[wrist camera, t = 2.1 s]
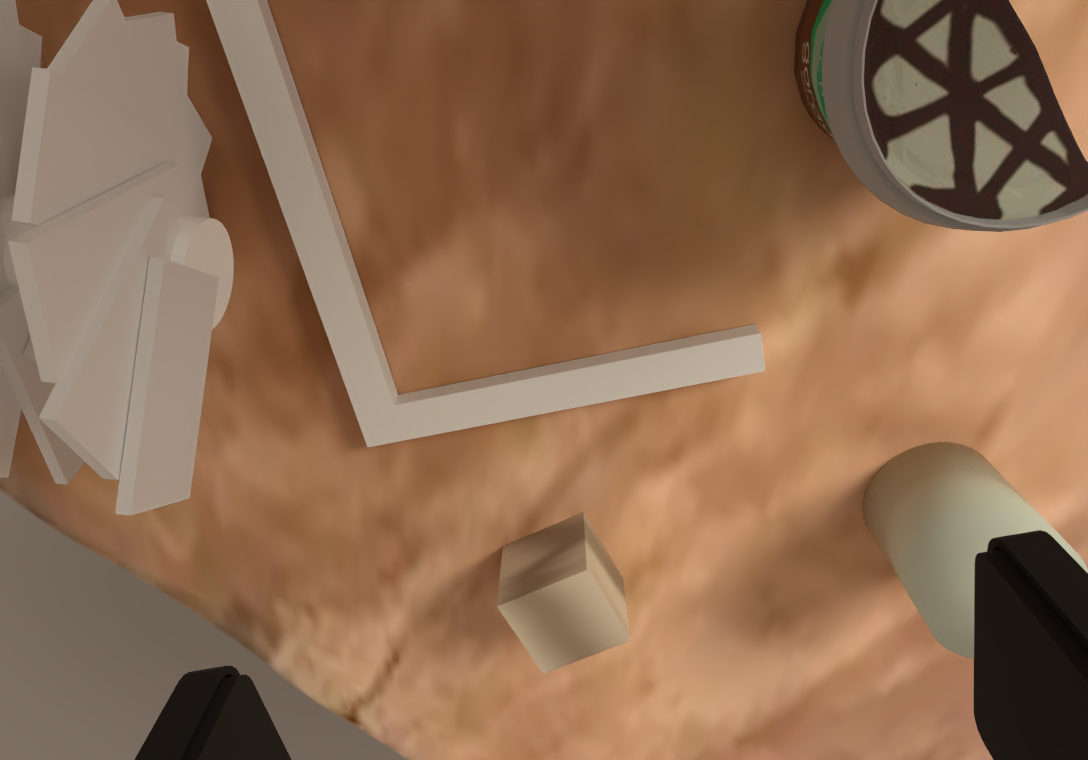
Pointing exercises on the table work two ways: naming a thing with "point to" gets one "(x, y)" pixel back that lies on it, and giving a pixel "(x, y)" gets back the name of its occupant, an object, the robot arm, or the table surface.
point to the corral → (346, 309)
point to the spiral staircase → (106, 253)
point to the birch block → (562, 594)
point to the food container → (941, 110)
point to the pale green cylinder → (945, 530)
